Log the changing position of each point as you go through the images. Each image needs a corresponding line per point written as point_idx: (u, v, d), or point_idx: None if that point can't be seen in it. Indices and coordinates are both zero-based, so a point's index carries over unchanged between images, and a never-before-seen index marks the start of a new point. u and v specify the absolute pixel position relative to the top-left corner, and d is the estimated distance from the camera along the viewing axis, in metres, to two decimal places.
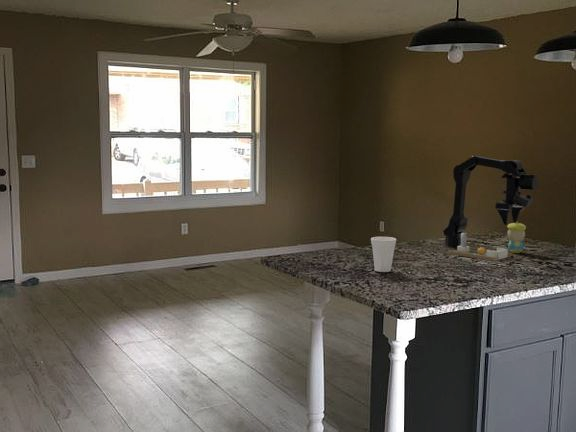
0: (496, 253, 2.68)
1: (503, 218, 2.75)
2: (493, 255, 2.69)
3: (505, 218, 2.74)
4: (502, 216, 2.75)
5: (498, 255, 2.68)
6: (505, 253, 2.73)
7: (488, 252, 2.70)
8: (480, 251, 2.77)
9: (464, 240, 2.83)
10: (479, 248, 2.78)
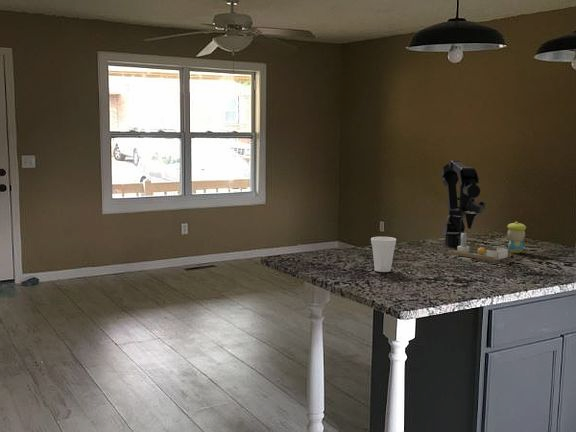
0: (496, 253, 2.68)
1: (457, 224, 2.80)
2: (493, 255, 2.69)
3: (458, 224, 2.79)
4: (456, 222, 2.80)
5: (498, 255, 2.68)
6: (505, 253, 2.73)
7: (488, 252, 2.70)
8: (480, 251, 2.77)
9: (464, 240, 2.83)
10: (479, 248, 2.78)
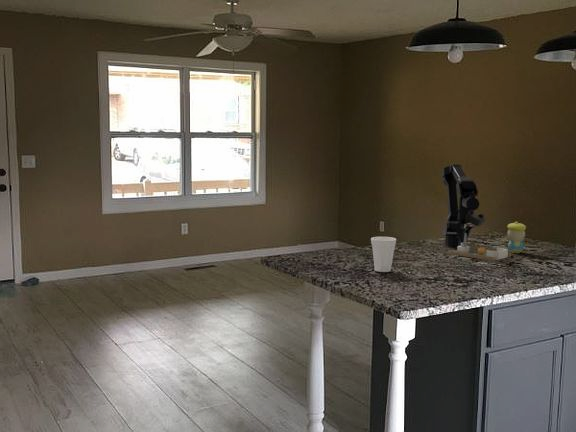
0: (496, 253, 2.68)
1: (459, 236, 2.83)
2: (493, 255, 2.69)
3: (461, 236, 2.82)
4: (458, 234, 2.83)
5: (498, 255, 2.68)
6: (505, 253, 2.73)
7: (488, 252, 2.70)
8: (480, 251, 2.77)
9: (464, 240, 2.83)
10: (479, 248, 2.78)
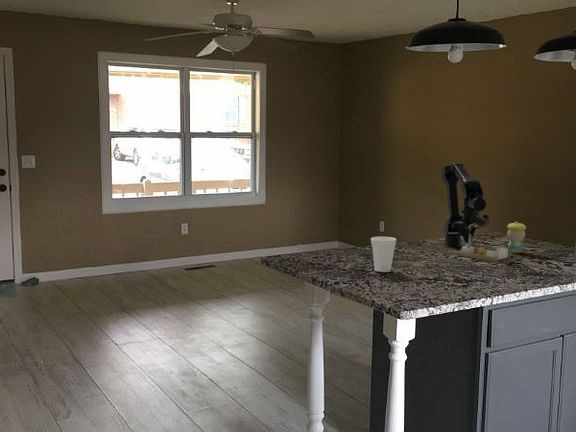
0: (496, 253, 2.68)
1: (464, 237, 2.81)
2: (493, 255, 2.69)
3: (466, 237, 2.80)
4: (463, 235, 2.81)
5: (498, 255, 2.68)
6: (505, 253, 2.73)
7: (488, 252, 2.70)
8: (480, 251, 2.77)
9: (469, 241, 2.81)
10: (479, 248, 2.78)
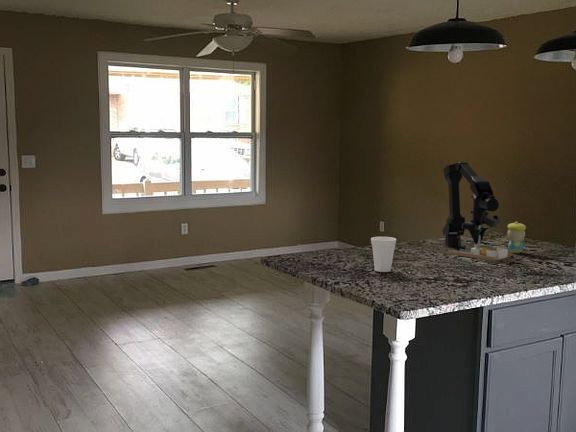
0: (496, 253, 2.68)
1: (474, 237, 2.77)
2: (493, 255, 2.69)
3: (476, 238, 2.77)
4: (473, 236, 2.77)
5: (498, 255, 2.68)
6: (505, 253, 2.73)
7: (488, 252, 2.70)
8: (483, 252, 2.76)
9: (478, 242, 2.78)
10: (485, 249, 2.76)
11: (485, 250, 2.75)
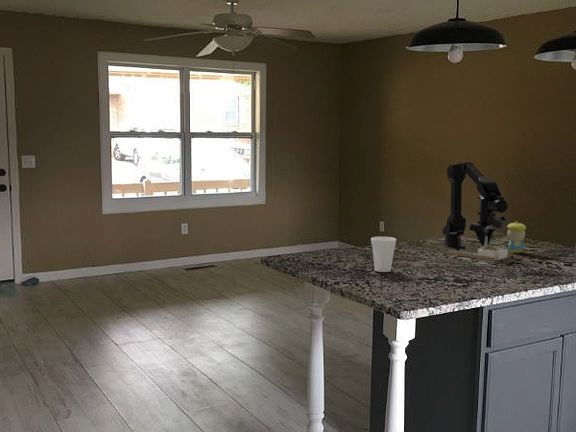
0: (496, 253, 2.68)
1: (480, 239, 2.75)
2: (493, 255, 2.69)
3: (482, 239, 2.74)
4: (479, 237, 2.75)
5: (498, 255, 2.68)
6: (505, 253, 2.73)
7: (488, 252, 2.70)
8: None
9: (485, 243, 2.76)
10: None
11: None
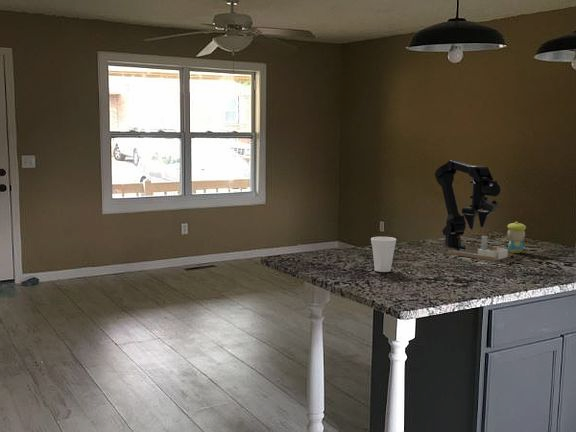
0: (496, 253, 2.68)
1: (469, 223, 2.81)
2: (493, 255, 2.69)
3: (471, 223, 2.80)
4: (468, 221, 2.81)
5: (498, 255, 2.68)
6: (505, 253, 2.73)
7: (488, 252, 2.70)
8: None
9: (485, 243, 2.76)
10: None
11: None
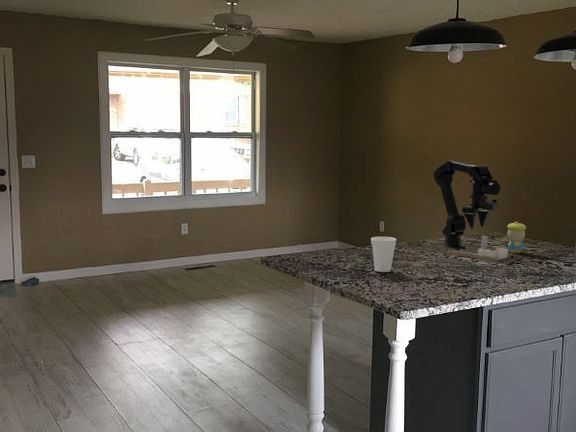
0: (496, 253, 2.68)
1: (469, 222, 2.81)
2: (493, 255, 2.69)
3: (471, 222, 2.81)
4: (468, 220, 2.81)
5: (498, 255, 2.68)
6: (505, 253, 2.73)
7: (488, 252, 2.70)
8: None
9: (485, 243, 2.76)
10: None
11: None
